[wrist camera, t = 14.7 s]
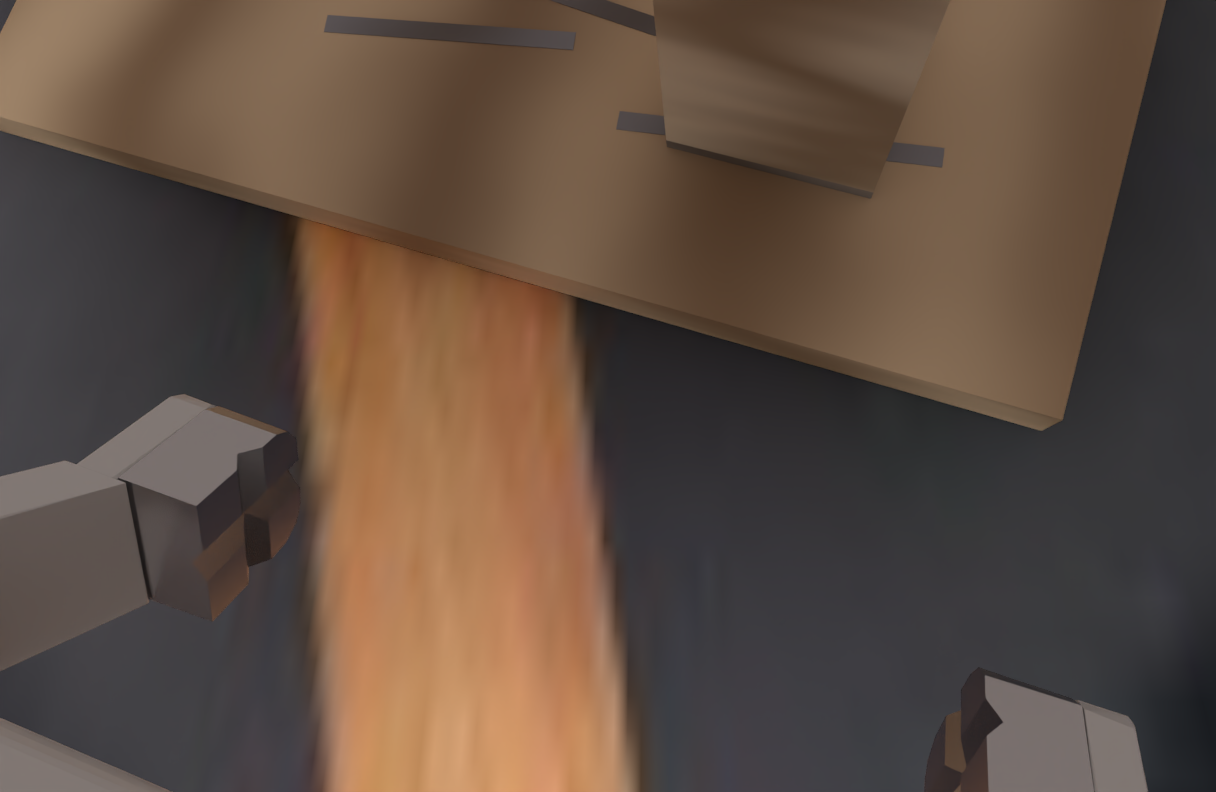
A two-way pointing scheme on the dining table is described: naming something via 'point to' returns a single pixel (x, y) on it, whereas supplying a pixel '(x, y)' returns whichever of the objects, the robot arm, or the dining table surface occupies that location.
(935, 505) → the dining table surface
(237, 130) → the oak board
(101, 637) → the dining table surface
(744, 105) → the block
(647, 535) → the dining table surface
